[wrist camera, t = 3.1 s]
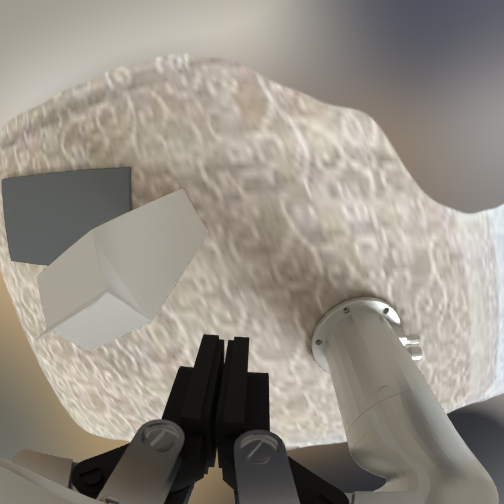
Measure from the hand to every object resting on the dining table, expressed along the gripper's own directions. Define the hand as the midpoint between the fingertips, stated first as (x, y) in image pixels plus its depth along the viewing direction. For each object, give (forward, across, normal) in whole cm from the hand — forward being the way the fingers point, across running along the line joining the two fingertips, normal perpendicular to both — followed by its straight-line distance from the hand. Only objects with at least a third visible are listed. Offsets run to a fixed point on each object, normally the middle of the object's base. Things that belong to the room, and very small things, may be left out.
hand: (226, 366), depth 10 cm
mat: (+23, +26, 0) cm, 35 cm away
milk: (+23, +8, 0) cm, 25 cm away
